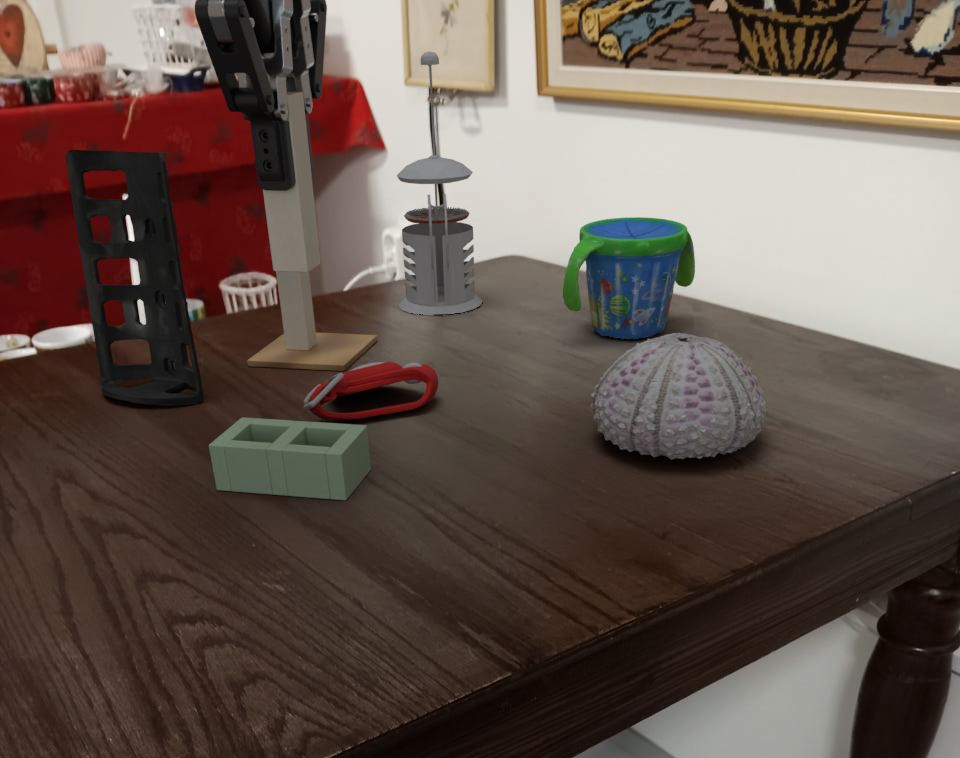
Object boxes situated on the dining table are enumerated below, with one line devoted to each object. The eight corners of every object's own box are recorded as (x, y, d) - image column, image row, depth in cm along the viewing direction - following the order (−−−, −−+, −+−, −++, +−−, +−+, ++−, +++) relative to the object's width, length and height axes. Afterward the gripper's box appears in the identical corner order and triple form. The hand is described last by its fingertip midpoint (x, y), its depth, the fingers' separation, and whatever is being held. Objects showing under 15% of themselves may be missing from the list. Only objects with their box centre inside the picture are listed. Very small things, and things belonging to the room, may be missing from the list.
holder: (76, 401, 88) (32, 150, 79) (123, 381, 95) (87, 148, 85) (189, 410, 86) (157, 153, 77) (229, 389, 92) (204, 151, 83)
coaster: (247, 366, 96) (246, 360, 96) (287, 336, 104) (286, 330, 104) (344, 371, 94) (344, 365, 94) (377, 340, 102) (377, 334, 102)
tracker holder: (336, 370, 91) (439, 346, 88) (349, 418, 92) (451, 396, 89) (286, 383, 80) (402, 355, 77) (301, 438, 81) (416, 412, 78)
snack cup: (591, 357, 96) (595, 246, 90) (537, 330, 104) (537, 227, 98) (720, 332, 102) (731, 226, 96) (660, 308, 110) (667, 210, 104)
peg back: (285, 349, 99) (271, 243, 93) (295, 342, 101) (281, 238, 95) (308, 350, 98) (295, 244, 93) (317, 343, 100) (305, 238, 95)
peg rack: (216, 490, 72) (208, 445, 70) (248, 460, 77) (241, 417, 75) (346, 500, 70) (341, 454, 68) (371, 469, 75) (367, 424, 73)
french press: (480, 291, 118) (474, 47, 104) (487, 318, 108) (482, 53, 95) (398, 294, 118) (381, 50, 104) (397, 322, 108) (379, 56, 94)
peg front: (273, 271, 64) (249, 95, 58) (287, 263, 66) (266, 91, 60) (307, 272, 63) (287, 95, 58) (321, 264, 65) (303, 91, 60)
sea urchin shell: (563, 423, 81) (566, 324, 77) (709, 401, 85) (719, 305, 81) (637, 486, 71) (644, 375, 66) (799, 457, 74) (817, 350, 70)
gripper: (236, -152, 59) (275, 168, 68) (111, -184, 48) (179, 204, 57) (356, -159, 57) (379, 169, 67) (256, -194, 46) (301, 207, 56)
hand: (287, 184), depth 62 cm, fingers closed on peg front, 2 cm apart
